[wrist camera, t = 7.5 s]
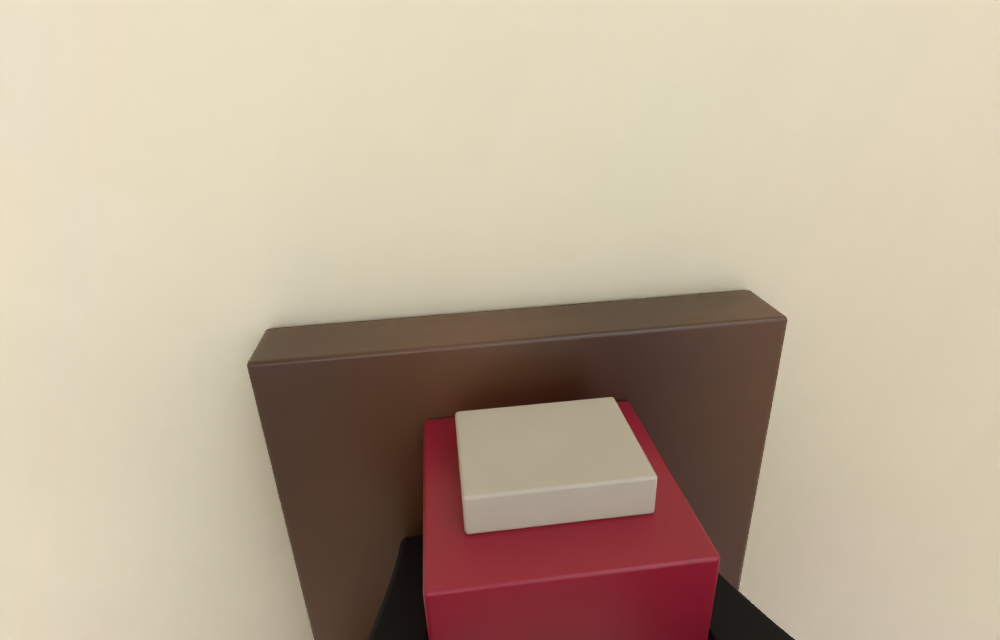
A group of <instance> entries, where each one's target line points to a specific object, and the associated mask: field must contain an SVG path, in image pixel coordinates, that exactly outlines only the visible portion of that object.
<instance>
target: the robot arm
mask: <svg viewBox="0 0 1000 640" xmlns="http://www.w3.org/2000/svg"><path fill="white" fill-rule="evenodd" d="M367 640H429V638H428V630H427V622H426V615H425V607H424V599H423V535H418V536H409V537H405V538H404V539H403V540H402V541H401V543H400V548H399V552H398V556H397V560H396V564H395V567H394V570H393V574H392V577H391V580H390V583H389V586H388V588H387V591H386V594H385V597H384V599H383V602H382V605H381V607H380V610H379V612H378V615H377V617H376V620H375V622H374V625H373V627H372V630H371V632H370V634H369V637H368V639H367ZM708 640H795V639H793V638H792V637H791V636H790V635H788V634H787V633H786V632H785V631H784V630H782V629H781V628H780V627H779V626H777V625H776V624H775V623H774V622H773V621H772V620H770V619H769V618H768V617H767V616H766V615H765V614H763V613H762V612H761V611H760V610H759V609H758V608H757V607H755V606H754V605H753V604H752V603H751V602H750V601H749V600H748V599H746V598H745V597H744V596H743V595H742V594H741V593H740V592H739V591H738V590H737V589H736V588H735V587H733V586H732V585H731V584H730V583H729V582H728V581H727V580H726V579H725V578H724V577H723V576H722V575H721V574H720V573H719V572H718V578H717V584H716V590H715V597H714V603H713V609H712V616H711V622H710V628H709V634H708Z"/></svg>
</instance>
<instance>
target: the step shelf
mask: <svg viewBox="0 0 1000 640" xmlns="http://www.w3.org/2000/svg"><path fill="white" fill-rule="evenodd" d="M786 324H787V318H786V316H784V315H783V314H782V313H780V312H779V311H777V310H776V309H775V308H773V307H772V306H771V305H769V304H768V303H766V302H765V301H764V300H762V299H761V298H759V297H758V296H757V295H755V294H754V293H753V292H751V291H749V290H746V291H734V292H721V293H709V294H696V295H684V296H672V297H659V298H647V299H634V300H622V301H610V302H597V303H585V304H572V305H560V306H548V307H535V308H523V309H510V310H498V311H486V312H473V313H461V314H448V315H436V316H424V317H411V318H399V319H387V320H374V321H362V322H349V323H337V324H325V325H312V326H300V327H287V328H275V329H268V330H266V332H265V334H264V335H263V337H262V339H261V340H260V342H259V344H258V346H257V347H256V349H255V351H254V353H253V354H252V356H251V358H250V360H249V361H248V364H247V367H248V371H249V375H250V380H251V384H252V388H253V392H254V396H255V400H256V404H257V408H258V412H259V416H260V420H261V425H262V429H263V433H264V437H265V441H266V445H267V449H268V453H269V457H270V461H271V465H272V469H273V474H274V478H275V482H276V486H277V490H278V494H279V498H280V502H281V506H282V510H283V514H284V519H285V523H286V527H287V531H288V535H289V539H290V543H291V547H292V551H293V555H294V559H295V563H296V568H297V572H298V576H299V580H300V584H301V588H302V592H303V596H304V600H305V604H306V608H307V613H308V617H309V621H310V625H311V629H312V633H313V637H314V640H367V639H368V637H369V634H370V632H371V630H372V627H373V625H374V622H375V620H376V617H377V615H378V612H379V610H380V607H381V605H382V602H383V599H384V597H385V594H386V591H387V588H388V586H389V583H390V580H391V577H392V574H393V570H394V567H395V564H396V560H397V556H398V552H399V548H400V543H401V541H402V540H403V539H404V538H405V537H409V536H418V535H423V424H424V421H426V420H432V419H443V418H453V417H455V414H456V412H459V411H470V410H480V409H491V408H501V407H512V406H522V405H533V404H543V403H553V402H564V401H574V400H585V399H595V398H606V397H613V398H614V399H615V401H616V402H619V401H628V402H629V403H630V404H631V406H632V408H633V410H634V411H635V413H636V415H637V416H638V418H639V420H640V421H641V423H642V425H643V427H644V428H645V430H646V432H647V433H648V435H649V437H650V438H651V440H652V442H653V443H654V445H655V447H656V449H657V450H658V452H659V454H660V455H661V457H662V459H663V460H664V462H665V464H666V466H667V467H668V469H669V471H670V472H671V474H672V476H673V477H674V479H675V481H676V483H677V484H678V486H679V488H680V489H681V491H682V493H683V494H684V496H685V498H686V499H687V501H688V503H689V505H690V506H691V508H692V510H693V511H694V513H695V515H696V516H697V518H698V520H699V522H700V523H701V525H702V527H703V528H704V530H705V532H706V533H707V535H708V537H709V539H710V540H711V542H712V544H713V545H714V547H715V549H716V550H717V552H718V554H719V556H720V565H719V573H720V574H721V575H722V576H723V577H724V578H725V579H726V580H727V581H728V582H729V583H730V584H731V585H732V586H733V587H735V588H736V589H737V590H738V589H739V583H740V578H741V572H742V567H743V561H744V556H745V550H746V545H747V539H748V534H749V528H750V523H751V517H752V512H753V506H754V501H755V495H756V490H757V484H758V478H759V473H760V467H761V462H762V456H763V451H764V445H765V440H766V434H767V429H768V423H769V418H770V412H771V407H772V401H773V396H774V390H775V385H776V379H777V374H778V368H779V363H780V357H781V352H782V346H783V341H784V335H785V330H786Z"/></svg>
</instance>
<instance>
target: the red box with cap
mask: <svg viewBox="0 0 1000 640" xmlns="http://www.w3.org/2000/svg"><path fill="white" fill-rule="evenodd" d="M719 565H720V556H719V554H718V552H717V550H716V549H715V547H714V545H713V544H712V542H711V540H710V539H709V537H708V535H707V533H706V532H705V530H704V528H703V527H702V525H701V523H700V522H699V520H698V518H697V516H696V515H695V513H694V511H693V510H692V508H691V506H690V505H689V503H688V501H687V499H686V498H685V496H684V494H683V493H682V491H681V489H680V488H679V486H678V484H677V483H676V481H675V479H674V477H673V476H672V474H671V472H670V471H669V469H668V467H667V466H666V464H665V462H664V460H663V459H662V457H661V455H660V454H659V452H658V450H657V449H656V447H655V445H654V443H653V442H652V440H651V438H650V437H649V435H648V433H647V432H646V430H645V428H644V427H643V425H642V423H641V421H640V420H639V418H638V416H637V415H636V413H635V411H634V410H633V408H632V406H631V404H630V403H629V402H628V401H619V402H616V401H615V399H614V398H613V397H606V398H595V399H585V400H574V401H564V402H553V403H543V404H533V405H522V406H512V407H501V408H491V409H480V410H470V411H459V412H456V414H455V417H453V418H443V419H432V420H426V421H424V424H423V599H424V607H425V615H426V622H427V630H428V638H429V640H708V634H709V628H710V622H711V616H712V609H713V603H714V597H715V590H716V584H717V578H718V572H719Z"/></svg>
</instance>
